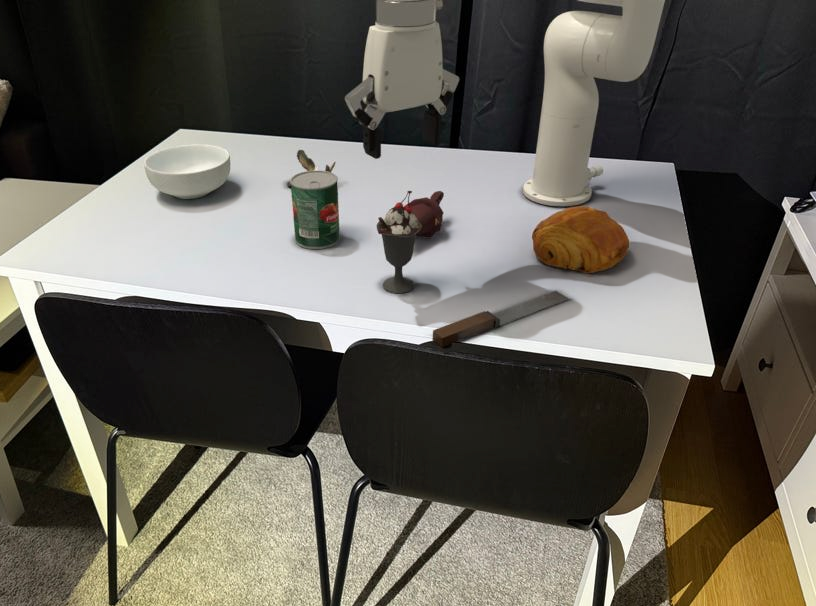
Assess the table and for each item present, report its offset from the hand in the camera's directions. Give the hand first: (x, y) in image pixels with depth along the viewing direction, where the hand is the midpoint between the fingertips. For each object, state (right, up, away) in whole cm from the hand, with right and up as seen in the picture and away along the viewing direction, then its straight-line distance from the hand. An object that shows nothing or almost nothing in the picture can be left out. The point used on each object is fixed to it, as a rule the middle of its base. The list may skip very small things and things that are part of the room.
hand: (402, 148), depth 98 cm
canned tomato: (-12, -8, +26) cm, 30 cm away
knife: (+15, -23, +4) cm, 28 cm away
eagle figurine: (-15, +6, +45) cm, 48 cm away
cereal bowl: (-38, +5, +45) cm, 60 cm away
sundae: (+1, -18, +12) cm, 22 cm away
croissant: (+31, -12, +18) cm, 37 cm away
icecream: (+6, -8, +26) cm, 27 cm away
